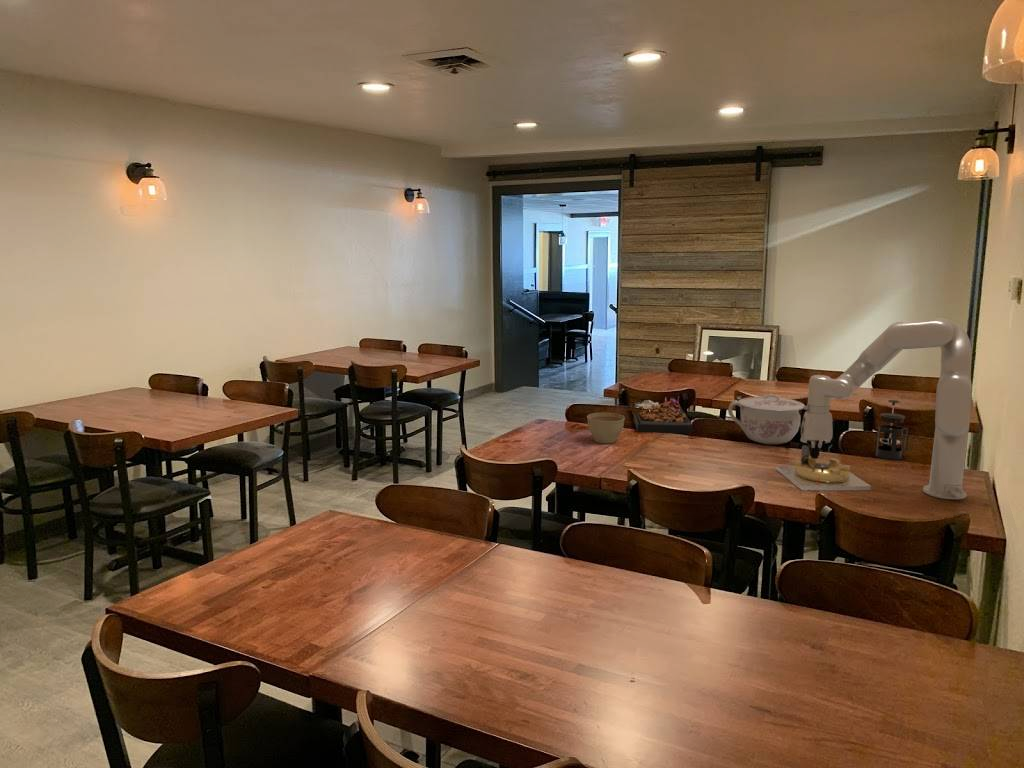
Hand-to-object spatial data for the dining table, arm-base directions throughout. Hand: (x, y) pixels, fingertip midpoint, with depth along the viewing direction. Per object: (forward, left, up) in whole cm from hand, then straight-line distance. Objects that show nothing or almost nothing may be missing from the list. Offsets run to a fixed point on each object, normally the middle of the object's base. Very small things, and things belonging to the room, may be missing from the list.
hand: (813, 457), depth 266 cm
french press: (+22, -40, -6) cm, 46 cm away
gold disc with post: (-7, 0, -5) cm, 8 cm away
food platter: (+83, +40, -7) cm, 92 cm away
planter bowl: (+47, +71, -6) cm, 85 cm away
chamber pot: (+47, 0, -6) cm, 47 cm away
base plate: (-7, 0, -6) cm, 9 cm away
